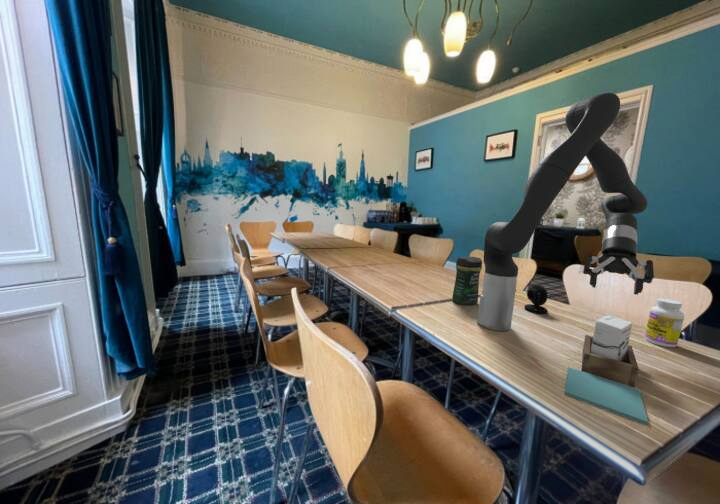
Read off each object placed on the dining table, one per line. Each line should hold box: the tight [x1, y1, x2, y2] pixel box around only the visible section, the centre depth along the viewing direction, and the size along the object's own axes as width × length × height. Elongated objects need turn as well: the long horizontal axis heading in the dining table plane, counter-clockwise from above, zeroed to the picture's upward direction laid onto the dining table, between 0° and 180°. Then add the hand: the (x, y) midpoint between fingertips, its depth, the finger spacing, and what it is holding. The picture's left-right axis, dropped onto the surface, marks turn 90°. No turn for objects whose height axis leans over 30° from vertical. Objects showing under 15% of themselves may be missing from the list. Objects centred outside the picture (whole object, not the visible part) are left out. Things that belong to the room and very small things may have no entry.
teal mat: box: [563, 366, 649, 425], centre depth 58 cm, size 12×12×1 cm
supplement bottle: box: [644, 297, 685, 348], centre depth 81 cm, size 7×7×13 cm
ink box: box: [590, 315, 633, 363], centre depth 67 cm, size 9×5×12 cm, turn 123°
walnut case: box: [581, 334, 639, 388], centre depth 67 cm, size 9×13×4 cm
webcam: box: [523, 284, 549, 315], centre depth 104 cm, size 8×8×10 cm
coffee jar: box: [451, 256, 483, 306], centre depth 110 cm, size 10×8×19 cm
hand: (614, 289), depth 75 cm, fingers open, 8 cm apart
